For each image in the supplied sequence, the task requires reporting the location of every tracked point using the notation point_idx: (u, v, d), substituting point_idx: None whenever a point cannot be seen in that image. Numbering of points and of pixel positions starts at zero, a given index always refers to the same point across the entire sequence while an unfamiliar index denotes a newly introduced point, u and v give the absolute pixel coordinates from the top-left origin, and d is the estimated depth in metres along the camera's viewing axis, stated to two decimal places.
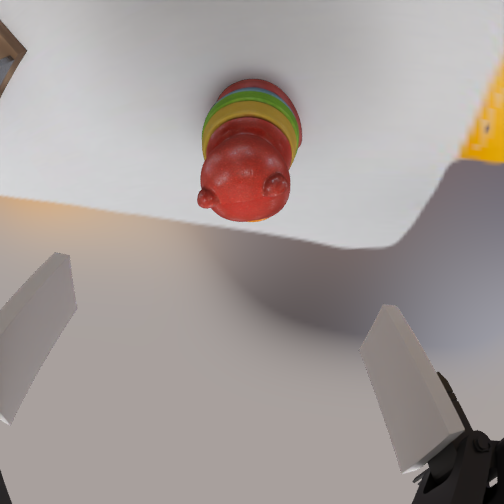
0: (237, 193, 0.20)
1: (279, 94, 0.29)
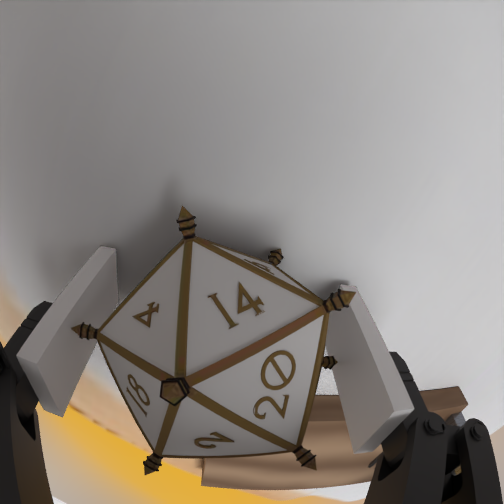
0: None
1: None
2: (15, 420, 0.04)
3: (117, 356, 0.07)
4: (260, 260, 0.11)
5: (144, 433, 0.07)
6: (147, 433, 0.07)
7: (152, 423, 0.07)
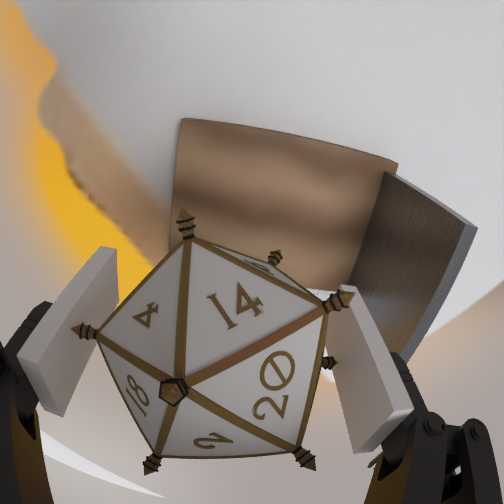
0: None
1: None
2: (15, 420, 0.04)
3: (116, 357, 0.07)
4: (260, 260, 0.11)
5: (143, 433, 0.07)
6: (146, 433, 0.07)
7: (151, 423, 0.07)
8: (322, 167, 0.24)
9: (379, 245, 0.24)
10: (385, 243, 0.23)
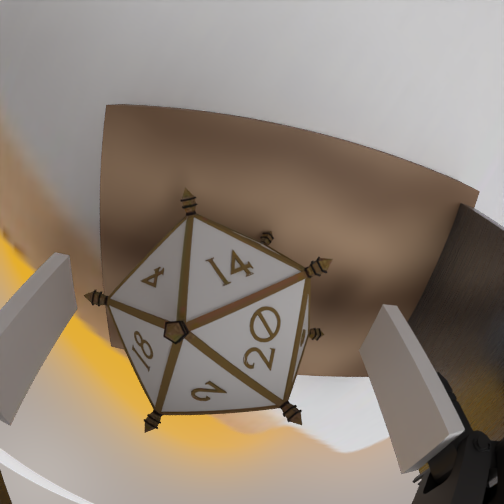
0: None
1: None
2: None
3: (125, 316, 0.09)
4: (252, 239, 0.12)
5: (146, 391, 0.09)
6: (149, 390, 0.09)
7: (154, 377, 0.08)
8: (367, 195, 0.13)
9: (447, 330, 0.13)
10: (461, 331, 0.12)
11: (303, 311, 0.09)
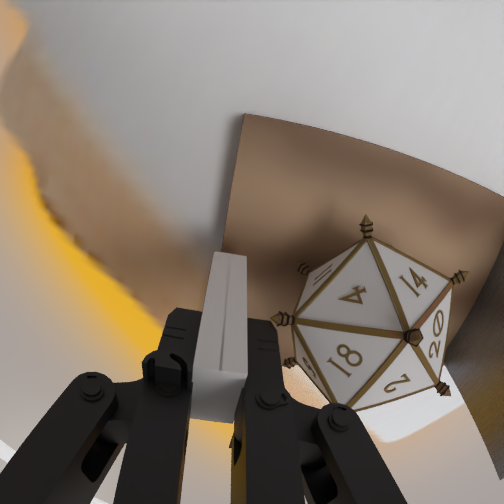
0: None
1: None
2: (184, 445, 0.06)
3: (326, 333, 0.10)
4: None
5: (334, 396, 0.10)
6: (339, 394, 0.10)
7: (354, 381, 0.09)
8: (454, 213, 0.14)
9: (503, 321, 0.14)
10: None
11: None
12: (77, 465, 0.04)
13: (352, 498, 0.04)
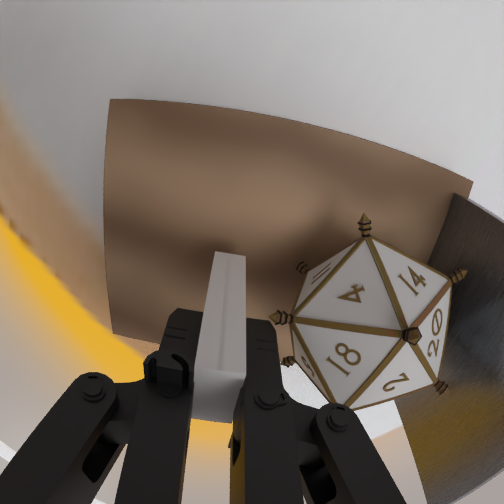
0: None
1: None
2: (185, 445, 0.06)
3: (325, 332, 0.10)
4: None
5: (333, 395, 0.10)
6: (338, 393, 0.10)
7: (353, 380, 0.09)
8: (360, 184, 0.13)
9: None
10: (456, 318, 0.12)
11: (449, 309, 0.10)
12: (79, 465, 0.04)
13: (351, 498, 0.04)
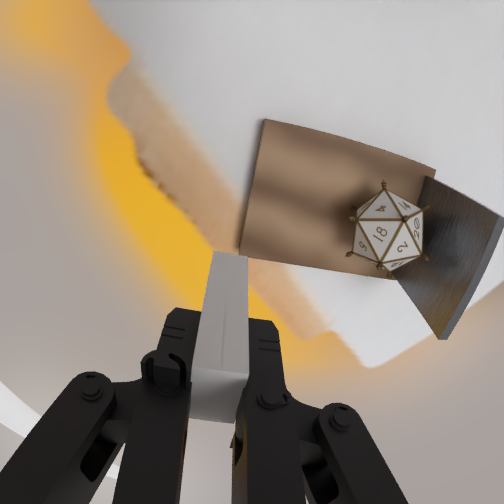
0: None
1: None
2: (183, 445, 0.06)
3: (371, 223, 0.24)
4: None
5: (376, 253, 0.24)
6: (378, 252, 0.24)
7: (384, 244, 0.24)
8: (379, 170, 0.27)
9: (423, 236, 0.27)
10: (430, 234, 0.26)
11: None
12: (77, 464, 0.04)
13: (353, 498, 0.04)
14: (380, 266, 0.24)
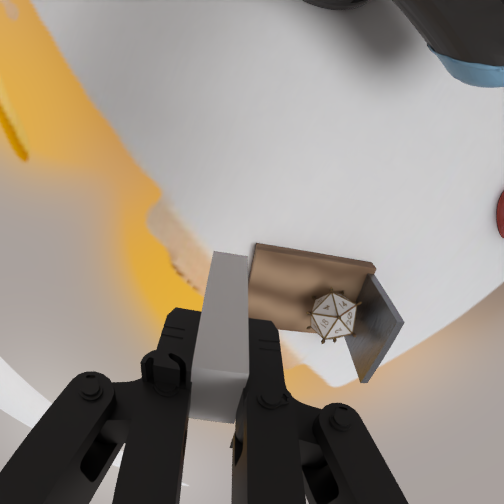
0: None
1: None
2: (183, 445, 0.06)
3: (319, 316, 0.41)
4: (340, 294, 0.45)
5: (322, 333, 0.41)
6: (323, 333, 0.41)
7: (326, 329, 0.41)
8: (332, 274, 0.45)
9: (360, 315, 0.44)
10: (364, 315, 0.43)
11: (355, 312, 0.41)
12: (77, 464, 0.04)
13: (353, 498, 0.04)
14: (323, 341, 0.41)
